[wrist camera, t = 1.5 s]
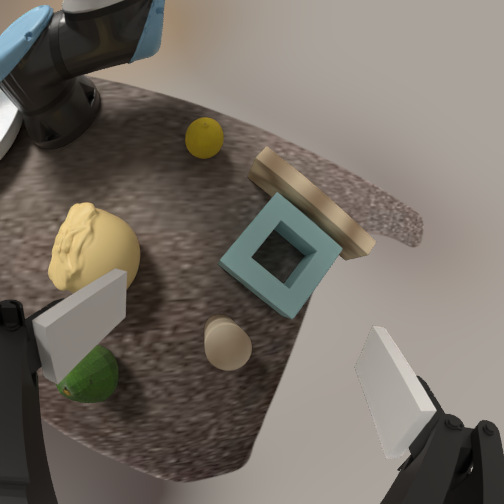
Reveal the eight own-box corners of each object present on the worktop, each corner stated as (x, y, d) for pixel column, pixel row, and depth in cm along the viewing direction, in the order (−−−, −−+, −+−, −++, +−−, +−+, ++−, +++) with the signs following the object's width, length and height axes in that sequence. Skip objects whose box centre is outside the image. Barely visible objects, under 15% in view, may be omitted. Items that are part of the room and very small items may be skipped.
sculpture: (88, 210, 38) (58, 187, 28) (156, 235, 40) (141, 217, 29) (63, 280, 36) (26, 277, 26) (130, 311, 38) (106, 317, 27)
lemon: (196, 172, 42) (196, 148, 34) (180, 145, 42) (177, 118, 34) (228, 157, 43) (233, 130, 35) (211, 131, 43) (213, 102, 35)
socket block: (217, 263, 41) (219, 260, 36) (268, 202, 43) (277, 191, 38) (282, 316, 41) (292, 319, 36) (328, 253, 44) (342, 248, 39)
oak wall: (247, 177, 43) (255, 157, 36) (257, 166, 44) (266, 146, 37) (345, 260, 44) (368, 255, 37) (352, 248, 44) (376, 241, 38)
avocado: (70, 351, 35) (31, 369, 23) (108, 330, 37) (75, 343, 25) (97, 396, 35) (67, 427, 23) (136, 377, 36) (114, 407, 25)
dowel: (197, 331, 39) (195, 351, 25) (217, 307, 40) (224, 316, 26) (222, 350, 39) (232, 379, 25) (241, 326, 40) (261, 344, 26)
